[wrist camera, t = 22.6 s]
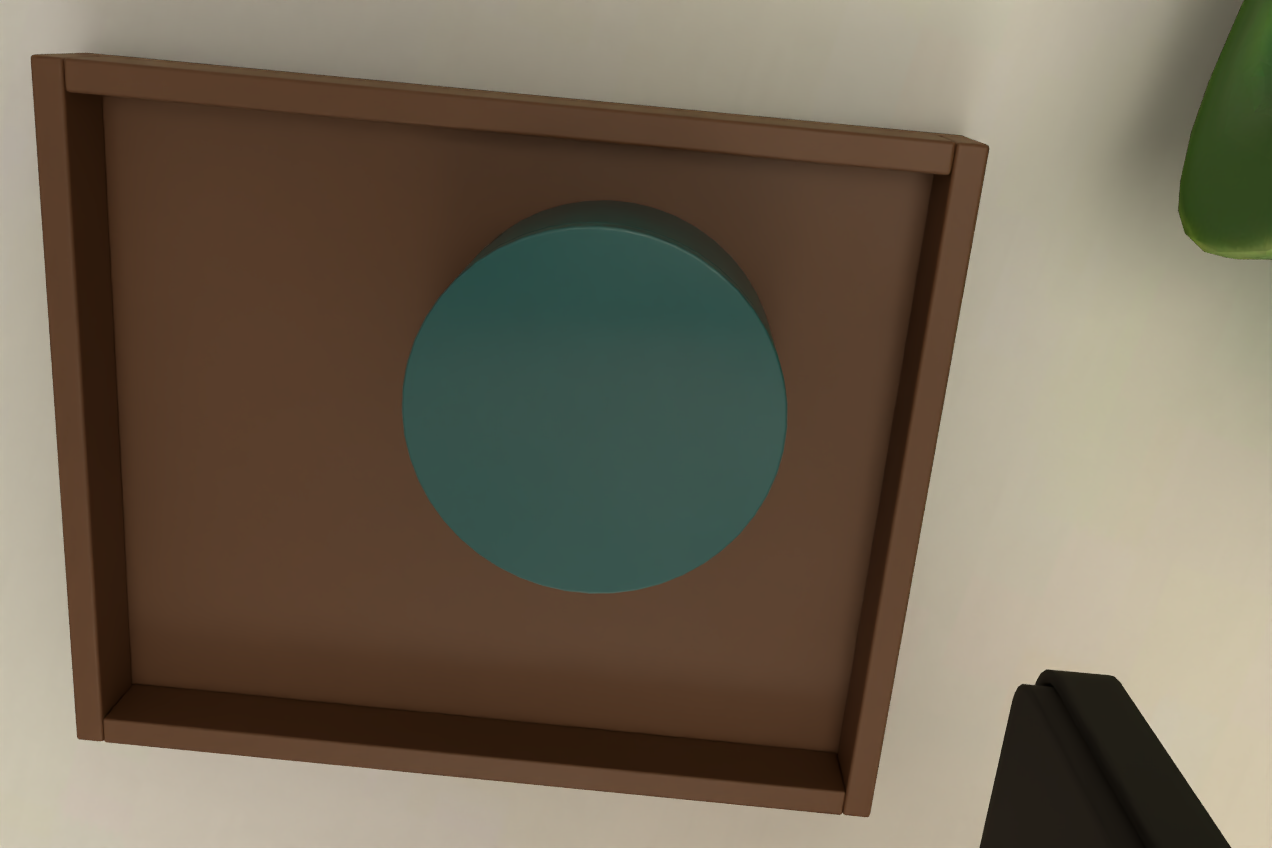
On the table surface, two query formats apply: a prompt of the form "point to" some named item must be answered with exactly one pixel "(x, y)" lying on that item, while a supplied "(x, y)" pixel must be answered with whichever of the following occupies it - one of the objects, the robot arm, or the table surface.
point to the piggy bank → (1234, 146)
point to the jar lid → (596, 399)
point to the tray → (377, 451)
